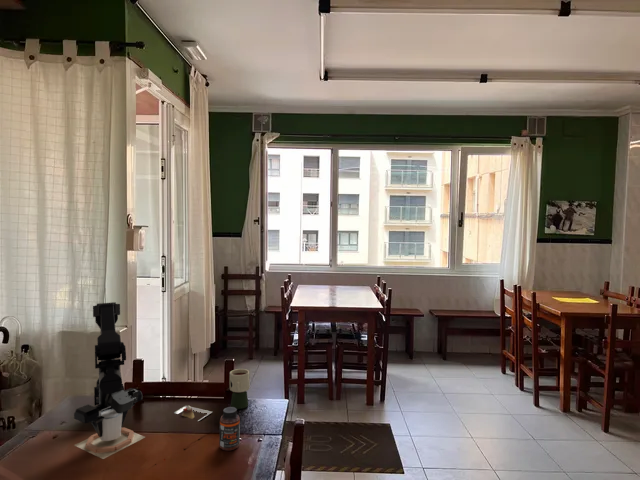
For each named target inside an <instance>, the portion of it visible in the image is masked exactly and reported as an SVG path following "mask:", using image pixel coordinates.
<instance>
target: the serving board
mask: <svg viewBox="0 0 640 480" xmlns="http://www.w3.org/2000/svg"><path fill="white" fill-rule="evenodd" d="M128 436H129V435H127V434H124V433H122V432H121V435H120V437H118V438H117V439H114V440H110V441H103V440H101V439H100V437H99V438H96V439H94V441H93V443H92V444H93V445H95V446H97V447H106V446H115V445H117V444H119V443H121V442H123V441H125V440H127V439H128ZM145 438H146V436H144V435H141V434H139V433H136V432H134V436H133V439H132V442H131V443H130V444H128V445H126V446H124V447H122V448H120V449H118V450H115V451H110V452H102V453H97V452H96V453H95V452H93V451H91V450H88V449H86V443H87V441H88V439H89V438H86V439H85V440H82V441H80V442H78V443H75V444H74V445H73V446H74V447H77V448H79V449H81V450H82V451H85V452H87V453H89V454H92V455H93V456H95V457H97V458H100V459H102V460H104V459H106V458H108V457H110V456H113V455H114V454H116V453H118V452H120V451H123V450H124V449H126V448H128V447H129V446H132V445H133V444H136V443H138V442H140V441H141V440H143V439H145Z"/></svg>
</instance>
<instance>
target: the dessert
mask: <svg viewBox="0 0 640 480" xmlns="http://www.w3.org/2000/svg"><path fill="white" fill-rule="evenodd" d="M193 410H194V411H193ZM196 411H197V413H200V412H201V414H204V413H207V414H205V415H204V416H202V417H201V418H200V419H198V420H197V422H199V421H200V422H201V420H203V419H205V417H207V416H209V415H210V414H212V413H213V411H210V410H207V409H206V410H205V409H202V408H198V407H193V406H190V405H184V406H183V407H181V408H179V409H177V410H176V411H174V412H173V413H174V414H175V415H176V414H177V415H178V414H180V413H181V416H182V417H185V418H189V419H191V420H193V419H194V418H195V414H194V412H196Z"/></svg>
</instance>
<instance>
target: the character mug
mask: <svg viewBox="0 0 640 480" xmlns="http://www.w3.org/2000/svg"><path fill="white" fill-rule="evenodd" d="M229 390H230V391H231V392H232V394H231V399H230V400H231V401H230V407H234V408H236V409H237V410H240V409H241V410H242V409H246V408H247V407H248V406H249V399H248V392H247V391H249V390H250V370H248V369H246V368H236V369H233V370H231V371H229Z"/></svg>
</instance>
